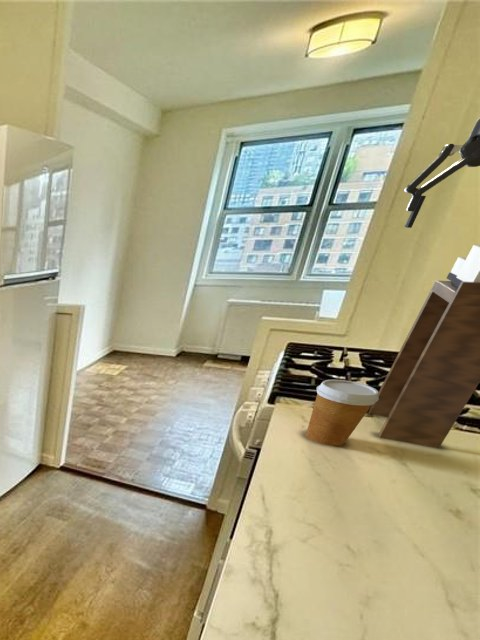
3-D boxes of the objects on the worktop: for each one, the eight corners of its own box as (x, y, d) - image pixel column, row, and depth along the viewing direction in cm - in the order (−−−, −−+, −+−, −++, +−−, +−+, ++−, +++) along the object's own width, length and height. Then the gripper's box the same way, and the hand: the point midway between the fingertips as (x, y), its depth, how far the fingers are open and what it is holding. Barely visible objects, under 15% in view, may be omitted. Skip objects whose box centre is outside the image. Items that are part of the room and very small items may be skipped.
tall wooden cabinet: (420, 421, 110) (506, 273, 94) (438, 449, 98) (538, 286, 83) (367, 412, 114) (440, 270, 99) (378, 438, 103) (463, 282, 87)
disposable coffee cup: (361, 443, 101) (390, 389, 95) (341, 455, 97) (369, 399, 91) (308, 426, 108) (331, 375, 103) (287, 436, 104) (310, 384, 98)
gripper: (593, 109, 95) (526, 228, 105) (417, 121, 108) (372, 225, 118) (612, 105, 89) (540, 230, 100) (425, 118, 102) (377, 227, 112)
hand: (449, 228), depth 109 cm, fingers open, 13 cm apart
